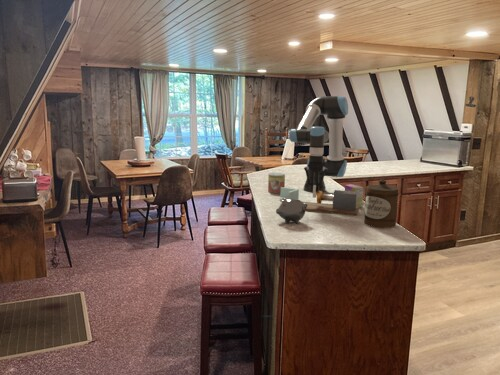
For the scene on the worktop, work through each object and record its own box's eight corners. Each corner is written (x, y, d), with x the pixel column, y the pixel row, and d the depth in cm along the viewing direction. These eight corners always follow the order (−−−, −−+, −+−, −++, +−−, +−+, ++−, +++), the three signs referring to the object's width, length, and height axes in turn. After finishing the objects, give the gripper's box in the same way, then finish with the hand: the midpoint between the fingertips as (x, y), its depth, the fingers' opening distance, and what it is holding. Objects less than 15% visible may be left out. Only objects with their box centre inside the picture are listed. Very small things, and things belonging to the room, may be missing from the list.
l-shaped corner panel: (281, 198, 244) (281, 187, 243) (298, 201, 238) (298, 189, 236) (271, 202, 234) (272, 189, 233) (289, 204, 228) (290, 192, 226)
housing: (333, 205, 218) (334, 190, 217) (355, 207, 215) (357, 191, 213) (332, 209, 210) (333, 192, 209) (355, 210, 207) (356, 194, 205)
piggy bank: (276, 218, 195) (277, 196, 193) (306, 219, 193) (307, 197, 191) (275, 224, 184) (275, 201, 182) (306, 226, 182) (307, 202, 180)
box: (343, 204, 230) (344, 184, 227) (351, 203, 232) (353, 184, 229) (354, 208, 220) (355, 187, 218) (362, 207, 222) (364, 187, 220)
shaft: (318, 201, 220) (318, 189, 218) (356, 204, 214) (357, 192, 212) (316, 204, 213) (317, 191, 212) (355, 207, 207) (356, 194, 206)
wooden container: (357, 223, 188) (360, 179, 184) (372, 218, 198) (376, 176, 194) (386, 230, 177) (390, 183, 173) (401, 224, 188) (405, 179, 184)
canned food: (266, 192, 260) (266, 175, 258) (269, 189, 271) (270, 172, 269) (283, 193, 258) (283, 175, 255) (285, 190, 268) (286, 173, 266)
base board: (294, 203, 229) (294, 201, 228) (357, 208, 218) (358, 206, 218) (289, 209, 214) (289, 207, 213) (356, 215, 203) (357, 212, 203)
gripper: (303, 155, 211) (301, 197, 215) (327, 156, 207) (325, 199, 211) (305, 154, 218) (303, 195, 222) (329, 155, 214) (326, 196, 218)
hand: (314, 197), depth 216 cm, fingers closed
